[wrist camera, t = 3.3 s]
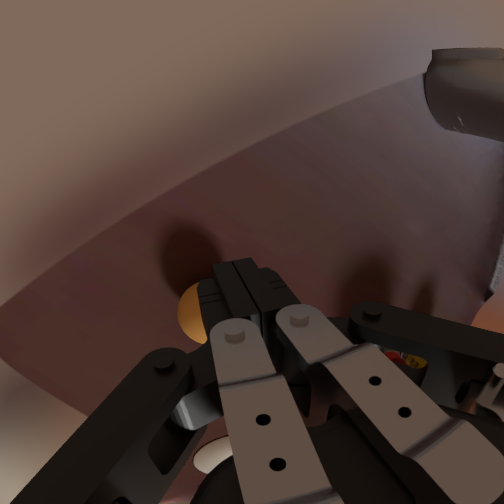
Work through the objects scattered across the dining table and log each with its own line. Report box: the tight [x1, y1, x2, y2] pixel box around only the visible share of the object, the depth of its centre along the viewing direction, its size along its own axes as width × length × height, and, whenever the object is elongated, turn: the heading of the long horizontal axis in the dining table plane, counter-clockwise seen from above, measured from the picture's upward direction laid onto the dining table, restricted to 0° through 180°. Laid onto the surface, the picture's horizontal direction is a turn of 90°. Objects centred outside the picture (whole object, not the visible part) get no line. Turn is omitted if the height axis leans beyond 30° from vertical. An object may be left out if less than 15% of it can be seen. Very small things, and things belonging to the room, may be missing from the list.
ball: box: [178, 282, 207, 344], centre depth 26 cm, size 5×5×5 cm
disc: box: [194, 436, 233, 473], centre depth 41 cm, size 13×13×1 cm
